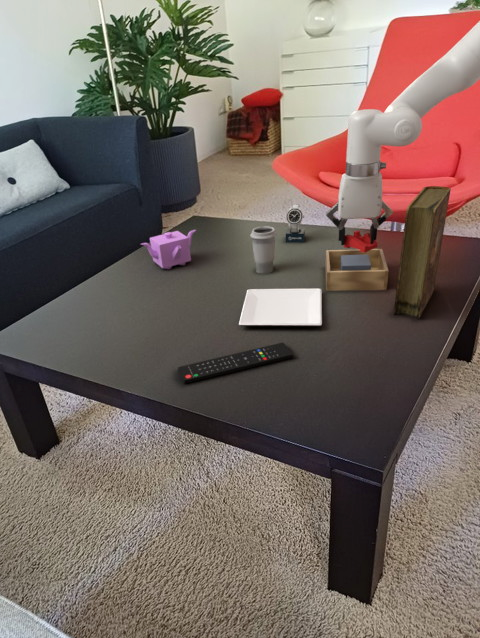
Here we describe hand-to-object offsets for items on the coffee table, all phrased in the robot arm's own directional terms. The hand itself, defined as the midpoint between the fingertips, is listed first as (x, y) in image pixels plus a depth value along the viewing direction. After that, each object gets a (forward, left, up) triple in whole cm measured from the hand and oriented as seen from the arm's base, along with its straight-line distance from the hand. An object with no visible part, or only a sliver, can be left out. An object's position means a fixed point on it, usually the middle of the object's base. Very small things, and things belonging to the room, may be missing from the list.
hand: (356, 242), depth 132 cm
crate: (0, 0, -10) cm, 10 cm away
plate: (+18, +18, -11) cm, 28 cm away
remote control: (+27, +42, -11) cm, 51 cm away
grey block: (0, 0, -10) cm, 10 cm away
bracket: (-1, 0, -1) cm, 2 cm away
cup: (+24, -7, -11) cm, 27 cm away
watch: (+16, -30, -11) cm, 36 cm away
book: (-13, +14, -11) cm, 22 cm away
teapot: (+52, -13, -11) cm, 55 cm away
